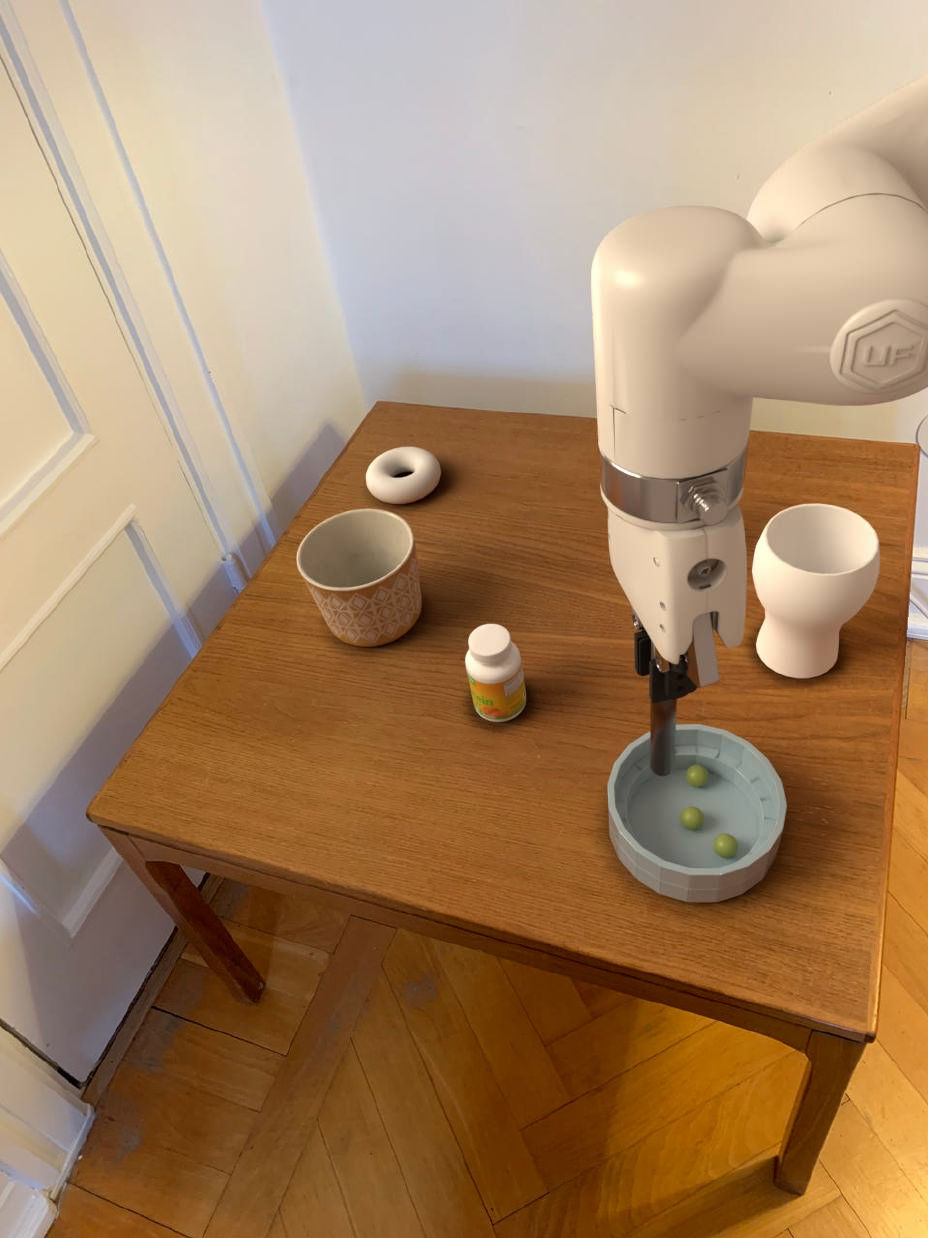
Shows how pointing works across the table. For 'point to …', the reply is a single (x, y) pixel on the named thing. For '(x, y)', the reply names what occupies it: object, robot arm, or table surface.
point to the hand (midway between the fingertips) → (665, 679)
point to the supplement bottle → (495, 673)
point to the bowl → (730, 801)
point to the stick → (662, 733)
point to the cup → (811, 584)
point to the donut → (405, 487)
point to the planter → (363, 575)
